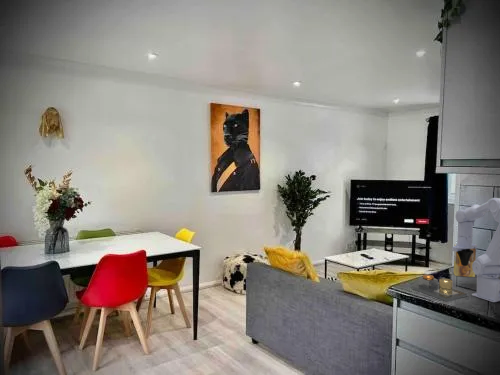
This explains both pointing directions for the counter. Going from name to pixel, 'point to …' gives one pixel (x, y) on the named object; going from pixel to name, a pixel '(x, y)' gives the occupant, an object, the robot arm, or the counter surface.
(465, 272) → the candy box
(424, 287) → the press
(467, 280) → the counter surface
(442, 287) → the glass candle
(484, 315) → the counter surface
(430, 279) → the tealight candle holder
